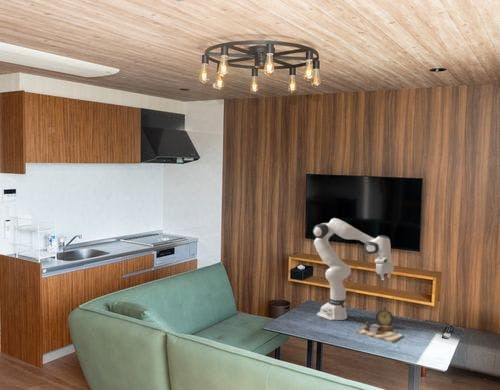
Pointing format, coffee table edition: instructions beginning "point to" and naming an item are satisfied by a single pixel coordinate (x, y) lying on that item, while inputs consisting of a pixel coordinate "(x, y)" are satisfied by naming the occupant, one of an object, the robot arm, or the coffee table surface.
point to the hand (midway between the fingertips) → (386, 279)
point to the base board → (382, 335)
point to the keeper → (374, 328)
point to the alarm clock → (384, 317)
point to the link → (382, 328)
